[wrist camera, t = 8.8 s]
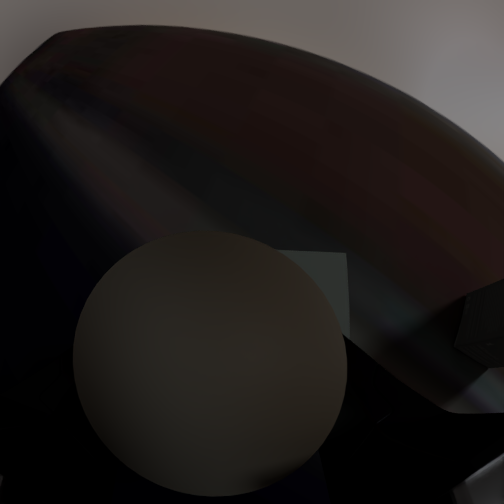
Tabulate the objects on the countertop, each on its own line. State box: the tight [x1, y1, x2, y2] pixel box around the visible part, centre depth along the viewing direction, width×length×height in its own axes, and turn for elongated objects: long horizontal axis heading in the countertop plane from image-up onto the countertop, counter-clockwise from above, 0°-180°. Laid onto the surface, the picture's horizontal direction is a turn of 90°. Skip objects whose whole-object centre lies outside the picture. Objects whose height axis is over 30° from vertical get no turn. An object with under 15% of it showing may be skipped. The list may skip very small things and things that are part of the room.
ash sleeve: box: [73, 231, 347, 496], centre depth 10 cm, size 5×5×11 cm
